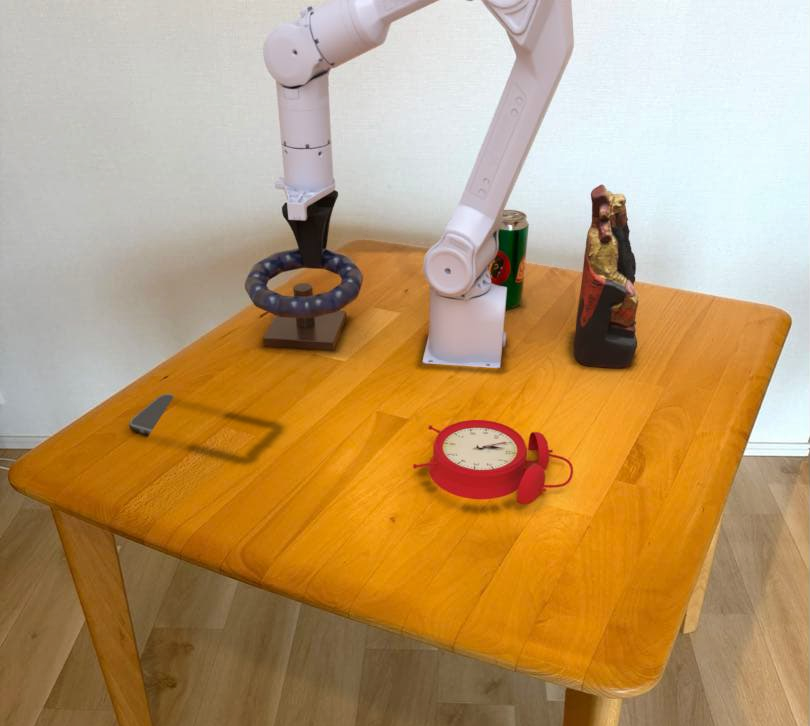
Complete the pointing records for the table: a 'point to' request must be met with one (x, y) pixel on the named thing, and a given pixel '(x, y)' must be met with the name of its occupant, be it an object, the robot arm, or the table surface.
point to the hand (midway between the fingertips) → (314, 257)
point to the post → (305, 328)
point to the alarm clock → (489, 461)
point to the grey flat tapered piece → (150, 414)
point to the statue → (607, 287)
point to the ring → (297, 304)
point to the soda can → (511, 256)
